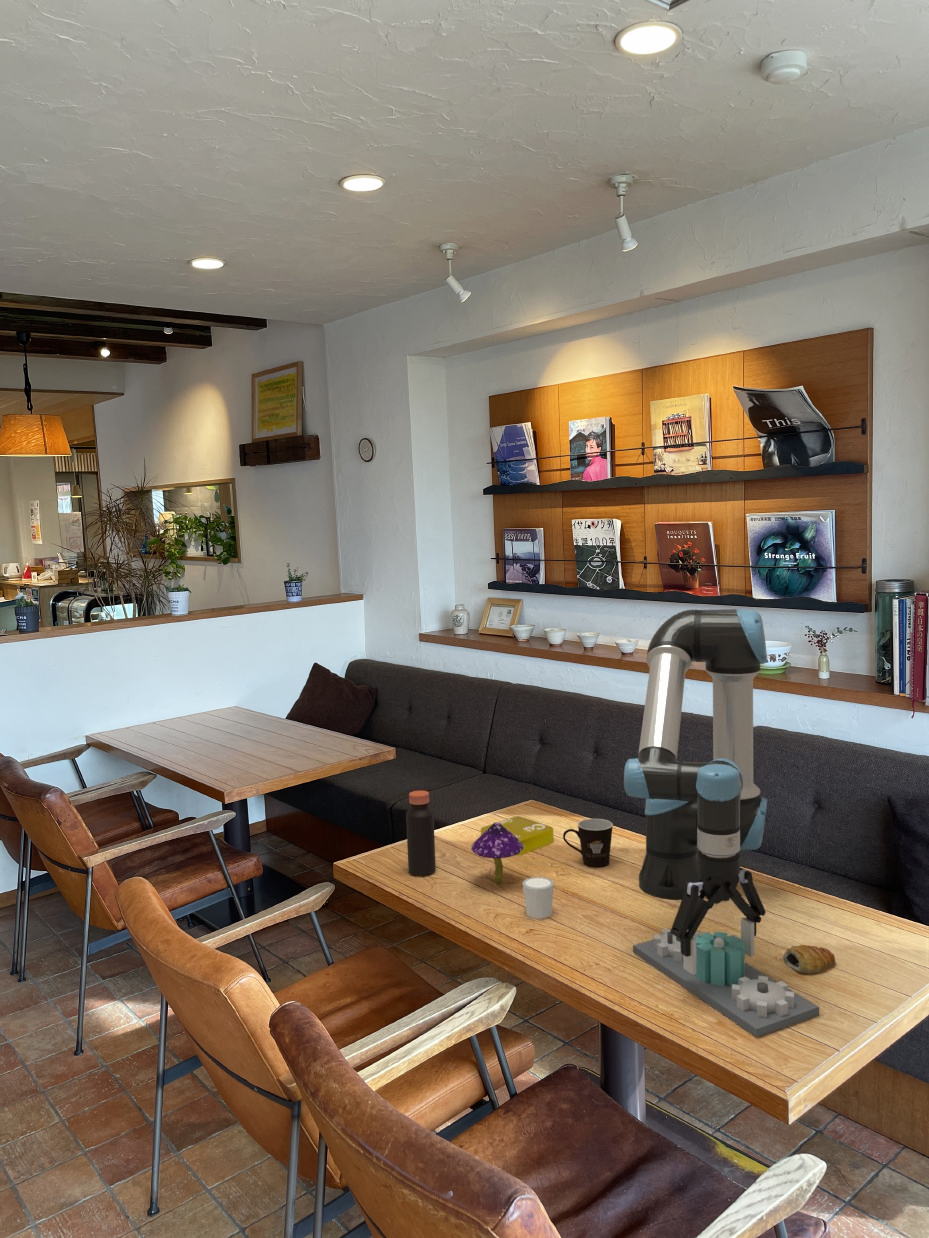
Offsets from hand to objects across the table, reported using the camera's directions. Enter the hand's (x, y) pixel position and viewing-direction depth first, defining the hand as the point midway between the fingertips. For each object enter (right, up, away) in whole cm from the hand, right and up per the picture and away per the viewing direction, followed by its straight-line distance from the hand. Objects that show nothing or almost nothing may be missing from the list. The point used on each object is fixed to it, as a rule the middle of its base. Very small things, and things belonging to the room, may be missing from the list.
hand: (719, 962), depth 168 cm
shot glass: (-31, -2, +32) cm, 44 cm away
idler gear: (0, -2, 0) cm, 2 cm away
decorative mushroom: (-39, 0, +49) cm, 63 cm away
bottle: (-57, 0, +58) cm, 82 cm away
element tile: (-33, +3, +76) cm, 83 cm away
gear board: (0, -4, 0) cm, 4 cm away
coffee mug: (-15, +2, +60) cm, 62 cm away
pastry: (+18, -3, +5) cm, 19 cm away
